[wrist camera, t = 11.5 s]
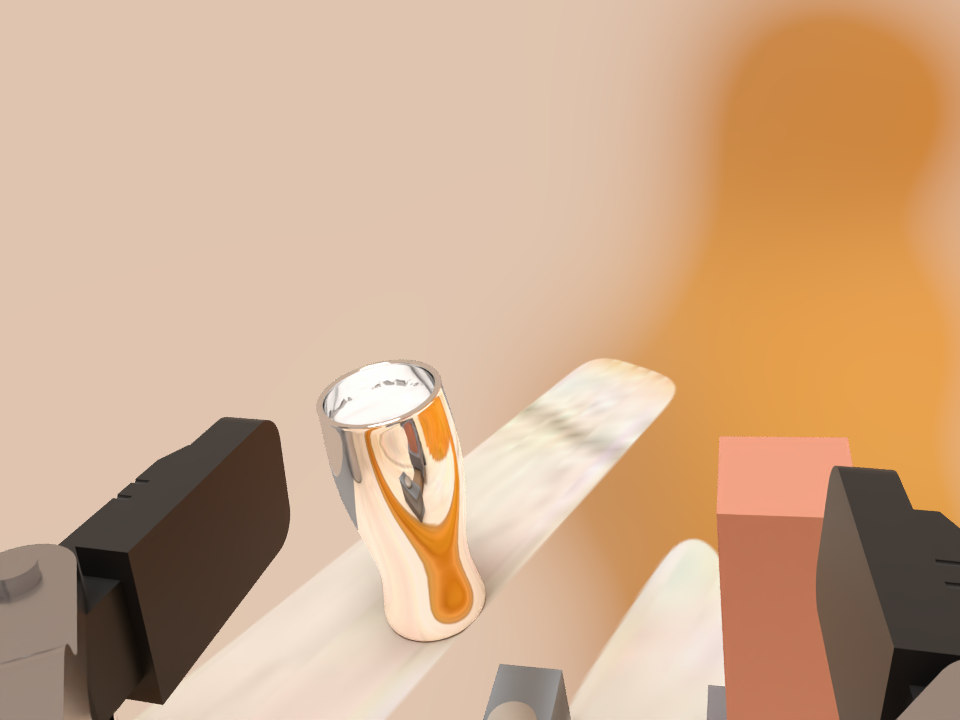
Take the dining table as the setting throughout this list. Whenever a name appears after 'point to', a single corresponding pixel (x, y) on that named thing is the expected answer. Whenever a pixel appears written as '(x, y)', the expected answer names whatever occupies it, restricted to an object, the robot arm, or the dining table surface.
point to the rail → (527, 695)
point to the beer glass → (405, 492)
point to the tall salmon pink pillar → (773, 577)
